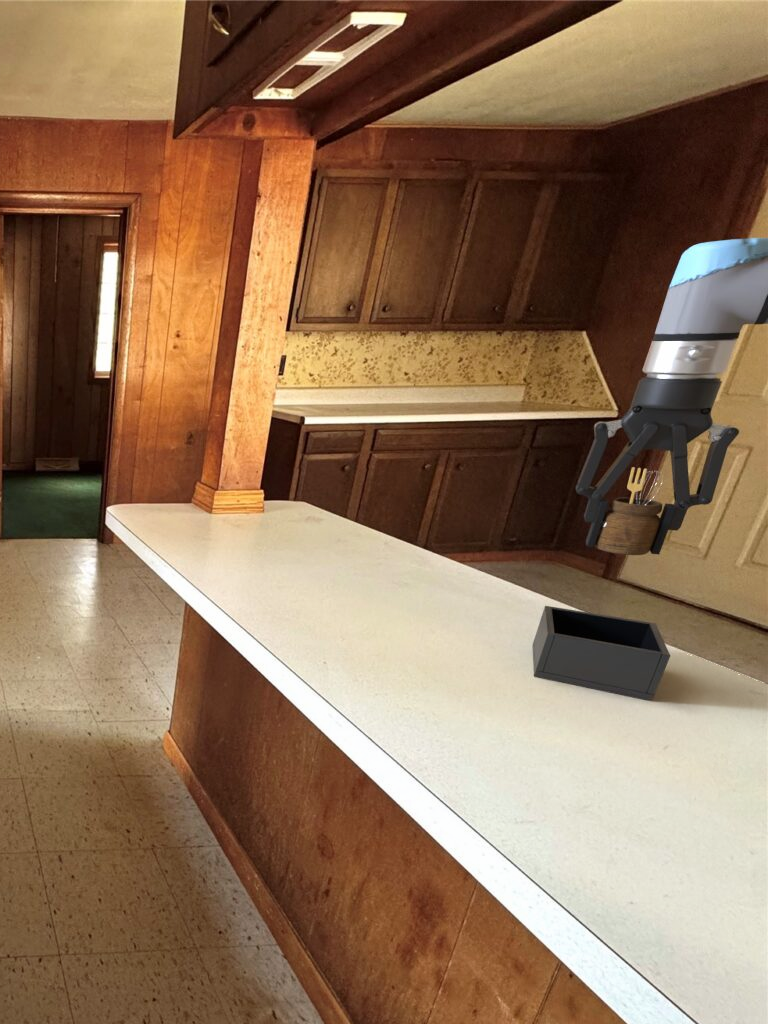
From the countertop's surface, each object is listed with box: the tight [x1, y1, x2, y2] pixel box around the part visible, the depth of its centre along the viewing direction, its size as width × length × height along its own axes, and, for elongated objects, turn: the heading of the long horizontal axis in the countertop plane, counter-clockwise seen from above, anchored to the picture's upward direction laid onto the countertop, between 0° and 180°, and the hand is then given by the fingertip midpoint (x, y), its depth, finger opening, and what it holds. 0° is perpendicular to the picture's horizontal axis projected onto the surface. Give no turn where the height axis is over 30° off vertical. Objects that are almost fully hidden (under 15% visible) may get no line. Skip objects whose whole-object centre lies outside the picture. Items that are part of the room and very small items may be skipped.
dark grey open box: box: [532, 605, 671, 702], centre depth 97 cm, size 13×13×7 cm
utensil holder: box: [594, 466, 664, 556], centre depth 91 cm, size 6×6×12 cm
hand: (621, 547), depth 93 cm, fingers closed on utensil holder, 6 cm apart
